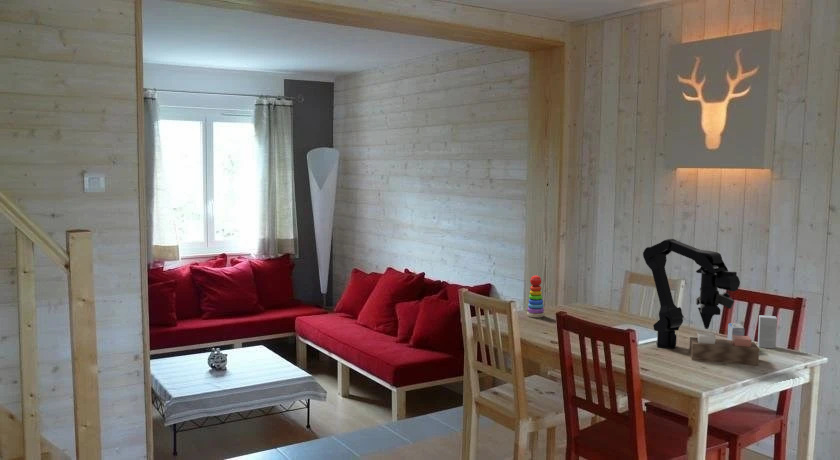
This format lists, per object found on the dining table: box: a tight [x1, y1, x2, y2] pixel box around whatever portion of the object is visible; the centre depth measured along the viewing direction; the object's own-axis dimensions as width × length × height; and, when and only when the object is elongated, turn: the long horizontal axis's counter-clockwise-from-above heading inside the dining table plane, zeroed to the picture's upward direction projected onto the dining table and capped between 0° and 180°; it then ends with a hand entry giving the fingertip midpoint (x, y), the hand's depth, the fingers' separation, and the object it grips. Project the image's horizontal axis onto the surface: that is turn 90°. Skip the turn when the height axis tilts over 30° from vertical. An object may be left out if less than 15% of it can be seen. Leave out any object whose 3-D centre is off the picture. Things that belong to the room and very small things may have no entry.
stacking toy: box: [526, 275, 545, 318], centre depth 322 cm, size 8×8×19 cm
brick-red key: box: [732, 335, 753, 347], centre depth 255 cm, size 6×6×4 cm
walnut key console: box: [688, 336, 760, 366], centre depth 257 cm, size 22×10×6 cm, turn 75°
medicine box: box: [726, 322, 745, 340], centre depth 273 cm, size 8×4×9 cm, turn 168°
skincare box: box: [757, 314, 778, 349], centre depth 275 cm, size 6×4×12 cm
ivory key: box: [696, 332, 716, 344], centre depth 258 cm, size 6×6×4 cm
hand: (706, 328), depth 258 cm, fingers closed
